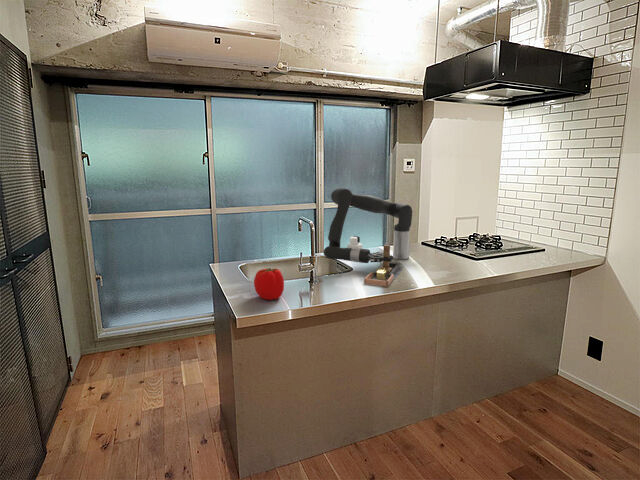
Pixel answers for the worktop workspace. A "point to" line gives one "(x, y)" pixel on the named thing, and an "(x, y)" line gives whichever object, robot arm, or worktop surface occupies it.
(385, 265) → the rake
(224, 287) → the worktop surface
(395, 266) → the slot bed
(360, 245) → the medicine bottle
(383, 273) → the chip
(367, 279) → the tray
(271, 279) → the red bell pepper
